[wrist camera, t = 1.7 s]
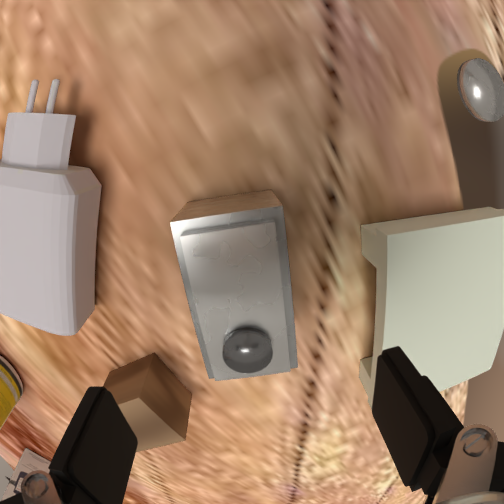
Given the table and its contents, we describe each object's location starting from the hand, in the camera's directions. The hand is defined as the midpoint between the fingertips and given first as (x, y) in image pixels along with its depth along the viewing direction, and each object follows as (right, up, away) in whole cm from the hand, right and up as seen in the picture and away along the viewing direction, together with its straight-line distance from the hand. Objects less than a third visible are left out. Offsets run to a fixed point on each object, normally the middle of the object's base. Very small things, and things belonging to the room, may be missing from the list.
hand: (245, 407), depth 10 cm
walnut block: (-8, -6, +13) cm, 17 cm away
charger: (-14, +9, +8) cm, 19 cm away
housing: (-1, +4, +10) cm, 11 cm away
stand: (+14, +2, +12) cm, 18 cm away
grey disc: (+18, +17, +7) cm, 26 cm away
